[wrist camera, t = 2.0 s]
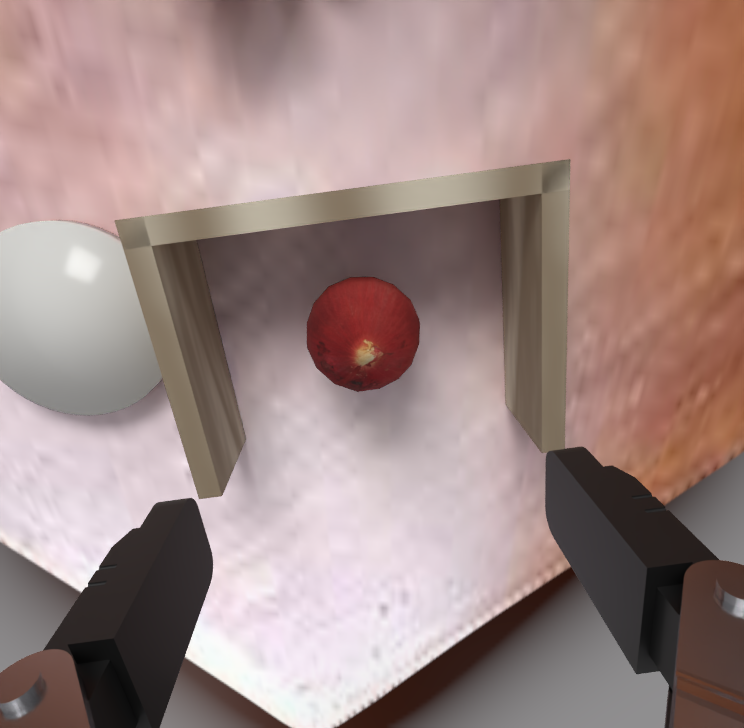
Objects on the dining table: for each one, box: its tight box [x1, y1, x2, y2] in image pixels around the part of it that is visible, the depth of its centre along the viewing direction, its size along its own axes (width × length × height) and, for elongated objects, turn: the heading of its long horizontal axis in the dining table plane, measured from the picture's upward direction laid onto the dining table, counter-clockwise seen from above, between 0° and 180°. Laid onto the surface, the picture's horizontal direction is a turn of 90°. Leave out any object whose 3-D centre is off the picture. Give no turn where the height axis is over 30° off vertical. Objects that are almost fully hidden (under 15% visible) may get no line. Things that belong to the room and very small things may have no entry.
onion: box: [307, 277, 420, 392], centre depth 24 cm, size 6×6×8 cm
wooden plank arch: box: [115, 159, 570, 499], centre depth 25 cm, size 19×14×6 cm
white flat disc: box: [0, 220, 163, 415], centre depth 26 cm, size 11×11×1 cm
